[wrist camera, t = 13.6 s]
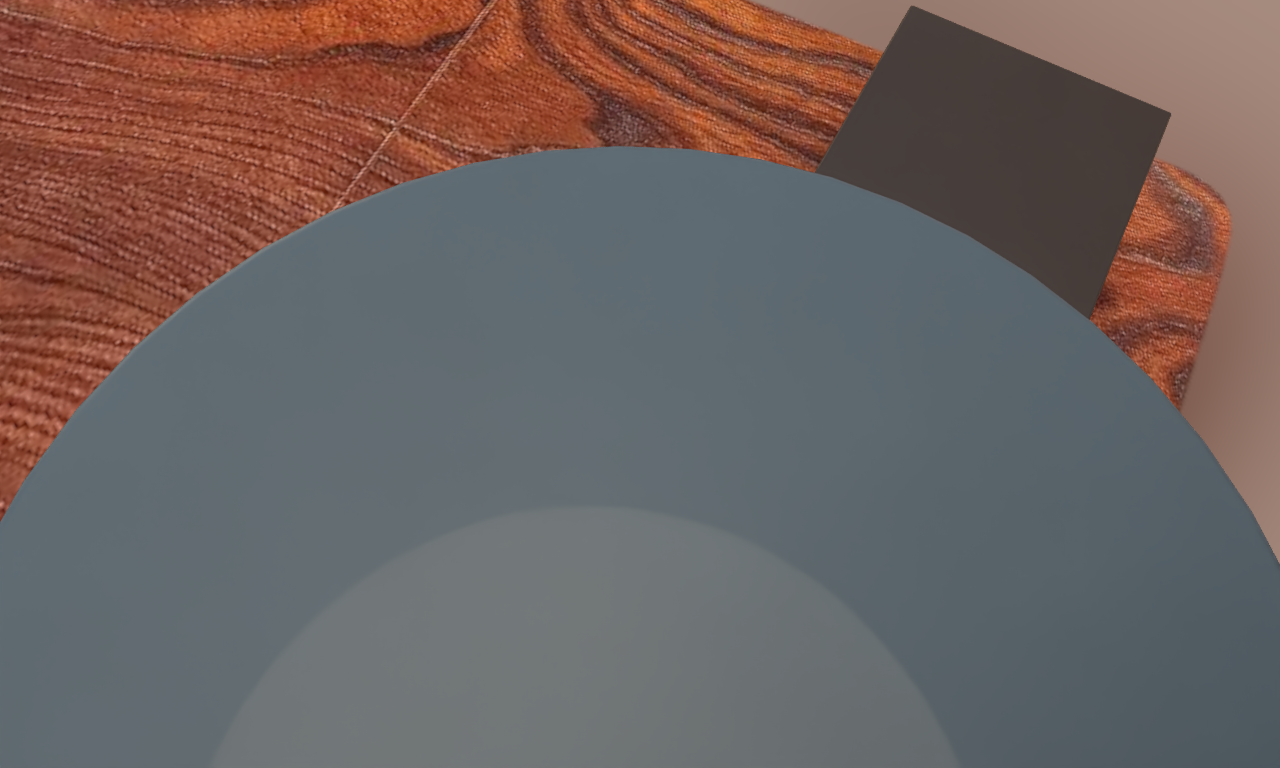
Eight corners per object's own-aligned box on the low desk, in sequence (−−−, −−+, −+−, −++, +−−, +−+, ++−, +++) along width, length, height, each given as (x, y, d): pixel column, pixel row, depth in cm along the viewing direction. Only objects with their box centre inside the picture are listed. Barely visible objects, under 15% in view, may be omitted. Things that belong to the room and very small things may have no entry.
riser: (1082, 240, 48) (1172, 112, 40) (1002, 431, 43) (1087, 326, 36) (861, 143, 49) (911, 3, 42) (763, 317, 45) (800, 195, 38)
